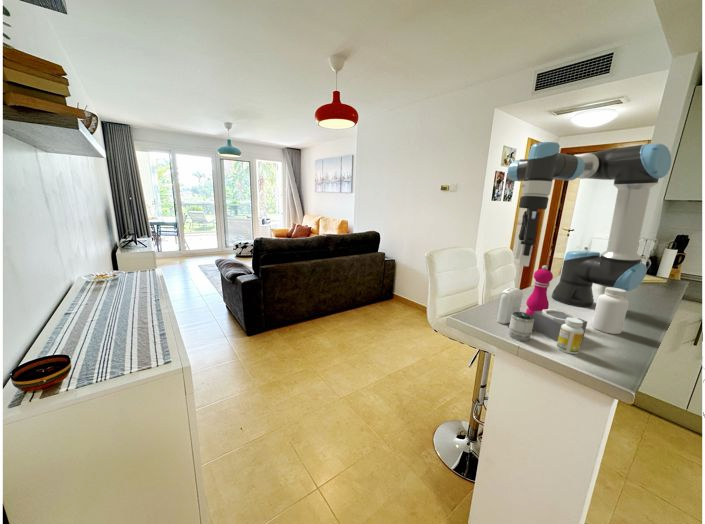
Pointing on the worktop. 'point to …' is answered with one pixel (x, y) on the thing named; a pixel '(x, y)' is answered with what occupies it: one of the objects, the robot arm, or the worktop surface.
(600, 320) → the pill bottle
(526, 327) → the camera lens
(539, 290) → the pepper mill
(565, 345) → the supplement bottle
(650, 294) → the worktop surface
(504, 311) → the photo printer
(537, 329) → the grey block with ring
